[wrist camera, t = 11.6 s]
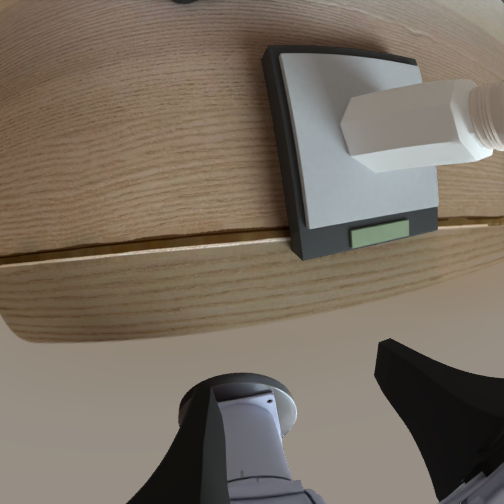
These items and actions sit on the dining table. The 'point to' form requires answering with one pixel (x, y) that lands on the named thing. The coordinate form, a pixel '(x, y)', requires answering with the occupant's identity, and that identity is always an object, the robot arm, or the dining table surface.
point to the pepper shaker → (425, 124)
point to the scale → (340, 152)
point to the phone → (184, 1)
